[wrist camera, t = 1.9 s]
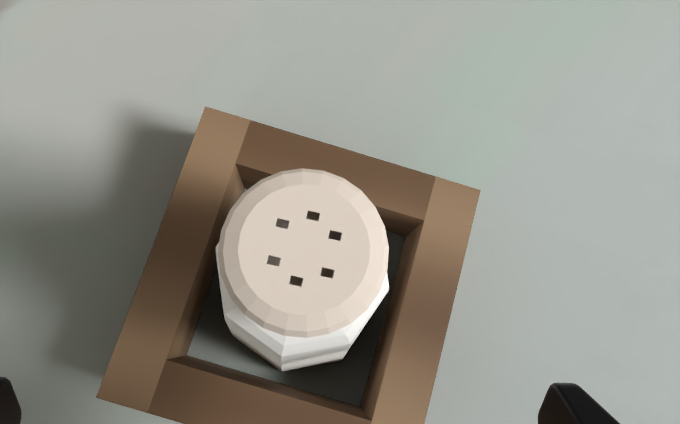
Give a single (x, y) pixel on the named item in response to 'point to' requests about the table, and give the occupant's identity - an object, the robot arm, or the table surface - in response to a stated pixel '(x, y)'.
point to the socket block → (200, 265)
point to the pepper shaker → (301, 267)
